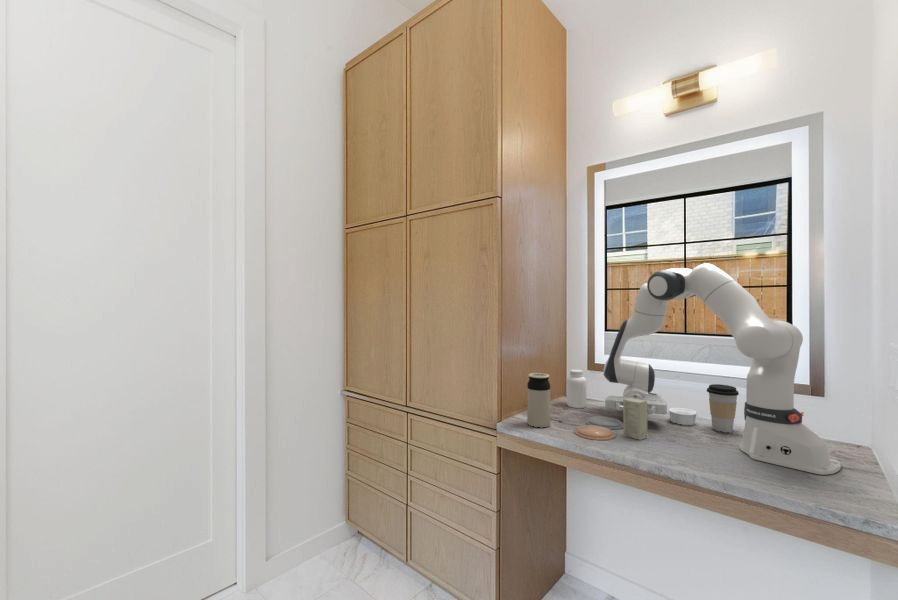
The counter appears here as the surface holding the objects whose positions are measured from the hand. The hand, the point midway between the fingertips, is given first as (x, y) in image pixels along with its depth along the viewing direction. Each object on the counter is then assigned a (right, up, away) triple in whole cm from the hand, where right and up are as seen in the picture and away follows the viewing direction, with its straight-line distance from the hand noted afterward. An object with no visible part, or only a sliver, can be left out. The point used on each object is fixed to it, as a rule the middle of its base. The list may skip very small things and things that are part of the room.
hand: (635, 410), depth 144 cm
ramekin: (+21, -7, +9) cm, 24 cm away
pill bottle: (-11, -7, +31) cm, 34 cm away
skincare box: (-3, -7, -7) cm, 10 cm away
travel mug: (-32, -7, +6) cm, 34 cm away
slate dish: (-8, -7, +7) cm, 13 cm away
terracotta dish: (-16, -7, -4) cm, 17 cm away
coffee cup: (+30, -7, +1) cm, 31 cm away
